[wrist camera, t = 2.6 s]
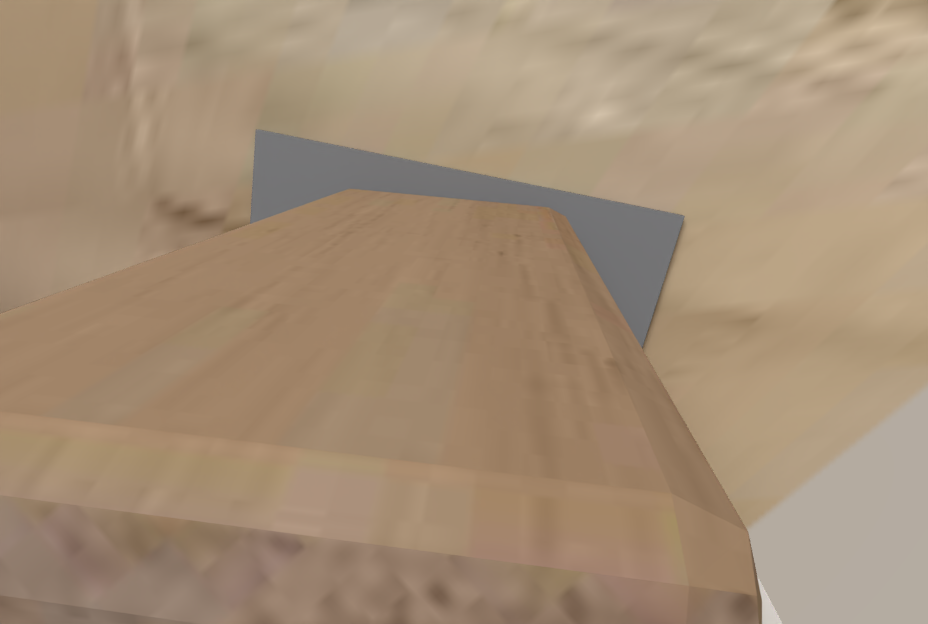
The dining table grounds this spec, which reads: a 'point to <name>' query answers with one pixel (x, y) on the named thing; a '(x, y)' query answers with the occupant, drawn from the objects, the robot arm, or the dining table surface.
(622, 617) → the wooden block
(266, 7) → the dining table surface
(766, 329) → the dining table surface
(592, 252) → the mat
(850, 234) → the dining table surface
